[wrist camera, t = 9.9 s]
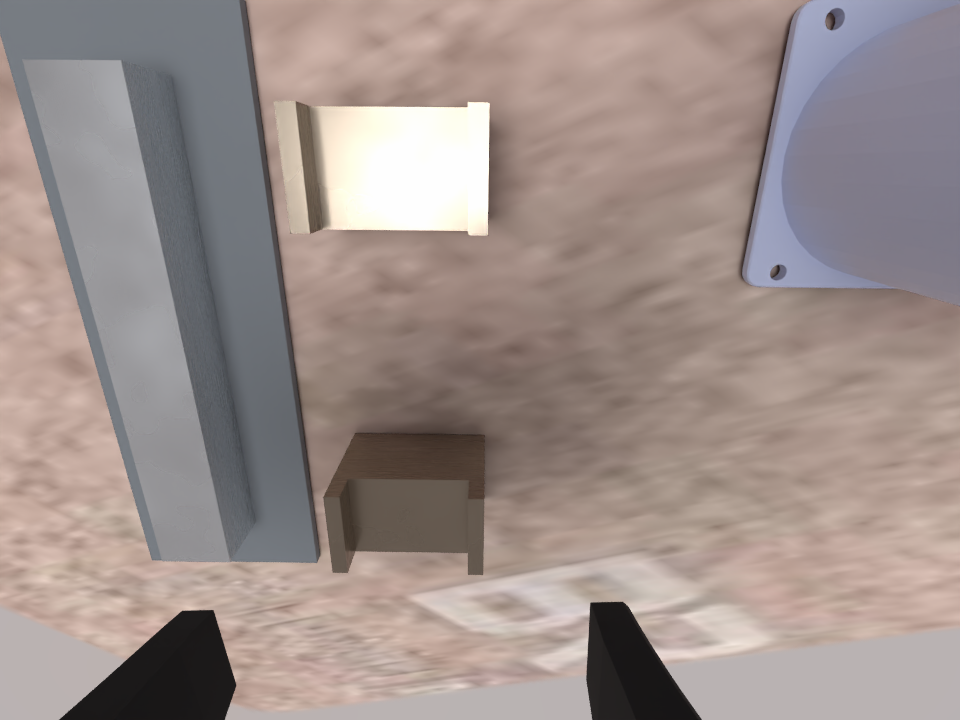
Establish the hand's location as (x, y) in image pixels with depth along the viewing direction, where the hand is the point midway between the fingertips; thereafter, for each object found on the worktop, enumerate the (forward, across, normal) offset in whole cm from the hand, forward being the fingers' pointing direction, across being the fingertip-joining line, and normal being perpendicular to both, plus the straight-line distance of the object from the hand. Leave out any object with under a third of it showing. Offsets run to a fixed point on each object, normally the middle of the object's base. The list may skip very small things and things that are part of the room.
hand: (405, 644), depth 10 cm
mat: (+10, +9, -3) cm, 14 cm away
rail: (+10, +9, -4) cm, 13 cm away
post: (+10, +1, +2) cm, 10 cm away
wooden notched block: (+10, +1, -8) cm, 13 cm away
